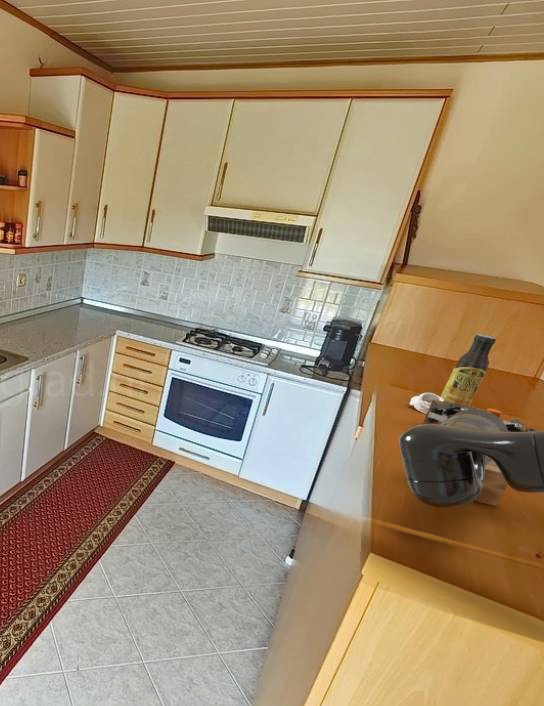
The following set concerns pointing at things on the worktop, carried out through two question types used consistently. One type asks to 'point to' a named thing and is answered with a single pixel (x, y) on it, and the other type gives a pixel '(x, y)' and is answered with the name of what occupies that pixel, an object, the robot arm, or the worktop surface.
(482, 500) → the stand
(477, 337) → the sauce bottle
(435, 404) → the block
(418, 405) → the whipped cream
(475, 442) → the robot arm
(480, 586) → the worktop surface
